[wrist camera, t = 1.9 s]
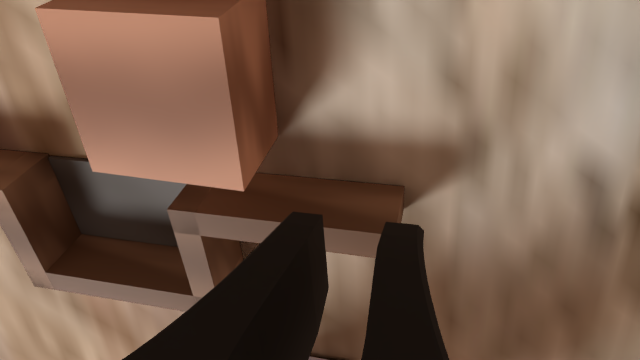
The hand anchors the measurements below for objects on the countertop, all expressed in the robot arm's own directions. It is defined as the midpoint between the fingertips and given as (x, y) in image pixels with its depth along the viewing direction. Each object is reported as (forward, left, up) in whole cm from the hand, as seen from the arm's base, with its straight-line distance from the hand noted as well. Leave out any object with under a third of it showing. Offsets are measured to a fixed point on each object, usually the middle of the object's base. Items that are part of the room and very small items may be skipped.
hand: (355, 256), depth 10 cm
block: (0, +8, -10) cm, 12 cm away
